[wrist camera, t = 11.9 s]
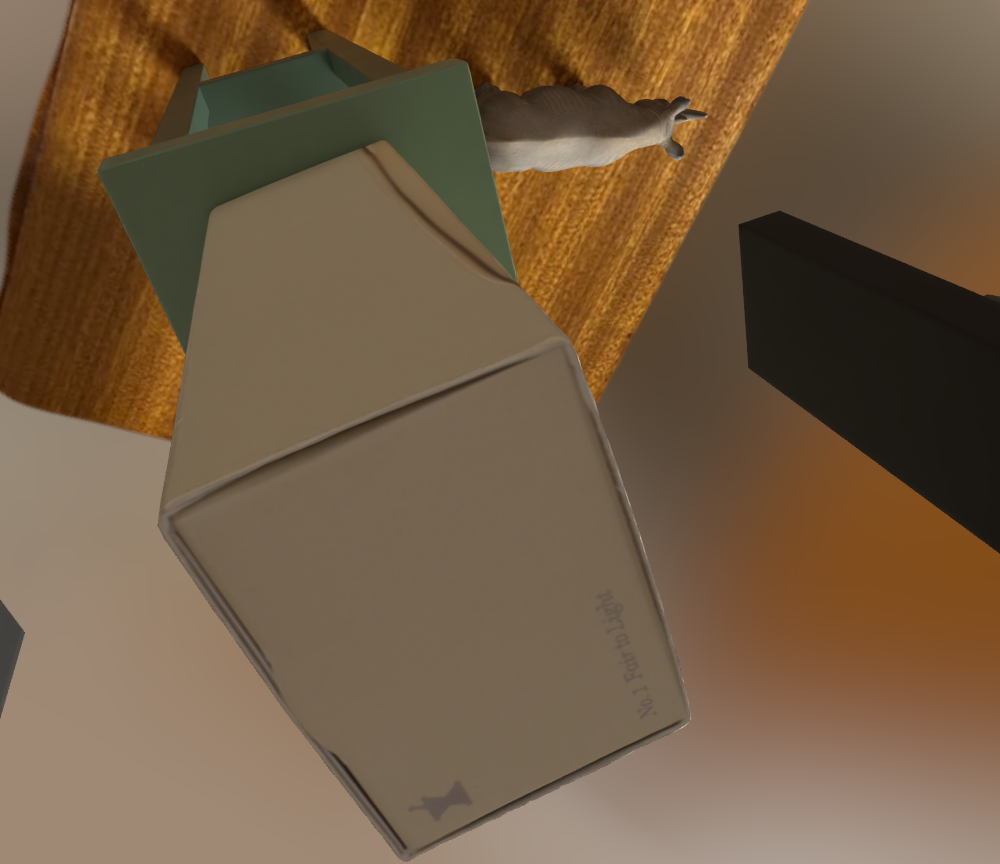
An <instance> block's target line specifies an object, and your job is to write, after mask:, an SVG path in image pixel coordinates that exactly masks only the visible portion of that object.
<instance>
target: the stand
mask: <svg viewBox="0 0 1000 864" xmlns="http://www.w3.org/2000/svg"><path fill="white" fill-rule="evenodd" d="M307 38H308V41H309V45H310V48H311V51H308V52H305V53H301V54H298V55H294V56H291V57H287V58H284V59H280V60H276V61H273V62H269V63H266V64H262V65H259V66H255V67H252V68H248V69H245V70H241V71H238V72H234V73H231V74H227V75H224V76H220V77H217V78H213V79H210V78H209V75H208V73H207V70H206V67H205V65H204V63H201V64H198V65H194V66H191V67H187V68H184V69H183V71H182V73H181V76H180V78H179V80H178V83H177V85H176V87H175V90H174V92H173V94H172V97H171V99H170V102H169V104H168V106H167V109H166V111H165V113H164V116H163V118H162V120H161V123H160V125H159V127H158V130H157V132H156V134H155V137H154V139H153V141H152V144H151V145H155V144H158V143H162V142H165V141H168V140H172V139H175V138H179V137H182V136H186V135H189V134H192V133H196V132H199V131H203V130H206V129H210V128H213V127H216V126H220V125H223V124H227V123H230V122H234V121H237V120H240V119H244V118H247V117H251V116H254V115H258V114H261V113H264V112H268V111H271V110H275V109H278V108H282V107H285V106H288V105H292V104H295V103H299V102H302V101H306V100H309V99H313V98H316V97H319V96H323V95H326V94H330V93H333V92H337V91H340V90H343V89H347V88H350V87H354V86H357V85H361V84H364V83H367V82H371V81H374V80H378V79H381V78H385V77H388V76H391V75H395V74H398V73H402V72H405V71H408V70H406V69H404V68H402V67H400V66H398V65H396V64H394V63H392V62H390V61H388V60H386V59H384V58H382V57H380V56H378V55H376V54H374V53H373V52H371V51H369V50H367V49H365V48H363V47H361V46H359V45H357V44H355V43H353V42H351V41H349V40H347V39H345V38H343V37H341V36H339V35H337V34H335V33H333V32H331V31H329V30H327V29H322V30H319V31H315V32H312V33H308V34H307Z"/></svg>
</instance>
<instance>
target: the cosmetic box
mask: <svg viewBox="0 0 1000 864" xmlns="http://www.w3.org/2000/svg"><path fill="white" fill-rule="evenodd" d="M158 527H159V529H160V531H161V533H162V535H163V537H164V539H165V541H166V542H167V543H168V545H169V546H170V547H171V549H172V550H173V552H174V553H175V555H176V556H177V558H178V559H179V561H180V562H181V564H182V565H183V566H184V568H185V569H186V571H187V572H188V574H189V575H190V576H191V578H192V579H193V581H194V582H195V584H196V585H197V586H198V588H199V590H200V591H201V593H202V594H203V595H204V597H205V598H206V600H207V601H208V603H209V604H210V606H211V607H212V609H213V610H214V612H215V613H216V614H217V616H218V617H219V618H220V619H221V621H222V622H223V623H224V625H225V626H226V627H227V629H228V630H229V632H230V633H231V635H232V636H233V638H234V639H235V641H236V642H237V644H238V645H239V647H240V648H241V649H242V651H243V652H244V654H245V655H246V656H247V658H248V659H249V660H250V662H251V664H252V665H253V666H254V668H255V669H256V671H257V672H258V673H259V675H260V676H261V678H262V679H263V680H264V682H265V683H266V684H267V686H268V687H269V689H270V690H271V692H272V693H273V695H274V696H275V698H276V699H277V701H278V702H279V703H280V705H281V706H282V708H283V709H284V710H285V712H286V713H287V714H288V716H289V717H290V718H291V719H292V721H293V722H294V724H295V725H296V726H297V727H298V729H299V730H300V731H301V732H302V734H303V735H304V736H305V737H306V739H307V740H308V741H309V742H310V744H311V745H312V746H313V748H314V749H315V750H316V752H317V753H318V754H319V755H320V757H321V758H322V760H323V761H324V762H325V764H326V765H327V767H328V768H329V769H330V771H331V772H332V773H333V774H334V775H335V776H336V778H337V779H338V780H339V781H340V783H341V784H342V785H343V787H344V788H345V789H346V790H347V792H348V793H349V794H350V796H351V797H352V798H353V800H354V801H355V802H356V804H357V805H358V806H359V808H360V809H361V810H362V812H363V813H364V814H365V815H366V816H367V817H368V818H369V820H370V821H371V823H372V824H373V825H374V827H375V828H376V829H377V830H378V832H379V833H380V834H381V835H382V836H383V838H384V839H385V840H386V842H387V843H388V845H389V846H390V847H391V849H392V850H393V851H394V853H395V854H396V855H397V857H398V858H399V859H401V860H402V861H410V860H411V859H414V858H415V857H417V856H419V855H421V854H423V853H425V852H427V851H429V850H431V849H433V848H435V847H436V846H438V845H439V844H442V843H444V842H447V841H449V840H451V839H454V838H456V837H457V836H460V835H462V834H464V833H466V832H468V831H470V830H473V829H475V828H477V827H479V826H481V825H483V824H484V823H486V822H488V821H491V820H494V819H496V818H499V817H500V816H502V815H504V814H505V813H507V812H509V811H512V810H514V809H516V808H519V807H521V806H523V805H525V804H527V803H528V802H530V801H533V800H535V799H537V798H539V797H541V796H543V795H545V794H547V793H550V792H552V791H554V790H556V789H558V788H560V787H561V786H563V785H566V784H569V783H571V782H572V781H574V780H576V779H579V778H581V777H583V776H586V775H588V774H590V773H592V772H594V771H596V770H598V769H600V768H602V767H604V766H606V765H608V764H610V763H611V762H613V761H615V760H617V759H619V758H621V757H623V756H625V755H627V754H629V753H631V752H634V751H636V750H638V749H640V748H642V747H644V746H646V745H648V744H650V743H652V742H654V741H656V740H658V739H660V738H662V737H664V736H667V735H669V734H671V733H673V732H675V731H677V730H679V729H680V728H682V727H684V726H685V725H687V724H688V722H689V721H690V719H691V711H690V706H689V701H688V697H687V693H686V688H685V684H684V681H683V678H682V674H681V669H680V664H679V659H678V657H677V654H676V650H675V647H674V644H673V640H672V636H671V632H670V629H669V625H668V622H667V619H666V616H665V613H664V609H663V605H662V602H661V599H660V596H659V592H658V589H657V586H656V582H655V579H654V576H653V573H652V569H651V566H650V564H649V561H648V558H647V555H646V552H645V549H644V546H643V542H642V539H641V536H640V534H639V530H638V526H637V524H636V521H635V518H634V515H633V512H632V509H631V506H630V503H629V500H628V497H627V494H626V492H625V488H624V486H623V483H622V480H621V476H620V472H619V469H618V467H617V464H616V461H615V458H614V455H613V453H612V450H611V447H610V445H609V442H608V439H607V436H606V433H605V431H604V428H603V425H602V422H601V419H600V416H599V413H598V410H597V407H596V403H595V400H594V397H593V395H592V392H591V390H590V388H589V385H588V383H587V380H586V377H585V374H584V372H583V370H582V367H581V364H580V361H579V357H578V355H577V352H576V350H575V348H574V346H573V344H572V342H571V340H570V338H569V337H568V336H567V335H566V334H565V333H563V332H562V331H561V330H560V329H559V328H558V327H557V325H556V324H555V323H554V322H553V321H552V320H551V319H550V317H549V316H548V315H547V314H546V313H545V312H544V311H543V310H542V308H541V307H540V306H539V305H538V304H537V303H536V302H535V301H534V299H533V298H532V297H531V296H529V295H528V294H527V293H526V292H525V291H524V290H523V289H522V287H521V286H520V285H519V284H518V283H517V282H516V281H515V280H514V279H513V277H512V276H511V275H510V274H509V273H508V272H507V271H506V270H505V269H504V267H503V266H502V265H501V264H500V263H499V262H498V261H497V260H496V258H495V257H494V256H493V255H492V254H491V253H490V252H489V251H488V250H487V248H486V247H485V246H484V245H483V244H482V243H481V242H480V241H479V240H478V239H477V238H476V237H475V236H474V235H473V234H472V233H471V232H470V231H469V229H468V228H467V227H466V226H465V225H464V224H463V223H462V222H461V221H460V219H459V218H458V217H457V216H456V215H455V214H454V213H453V212H452V210H451V209H450V208H449V207H448V206H447V205H446V204H445V203H444V202H443V200H442V199H441V198H440V197H439V196H438V195H437V194H436V193H435V192H434V191H433V190H432V189H431V188H430V187H429V186H428V184H427V183H426V182H425V181H424V180H423V179H422V178H421V177H420V176H419V174H418V173H417V172H416V171H415V170H414V169H413V168H412V167H411V166H410V165H409V164H408V163H407V162H406V161H405V160H404V159H403V157H402V156H401V155H400V154H399V153H398V152H397V151H396V150H395V149H394V148H393V147H392V146H391V145H390V144H389V143H388V142H387V141H384V140H381V141H378V142H375V143H373V144H370V145H368V146H366V147H363V148H360V149H357V150H355V151H352V152H350V153H347V154H344V155H342V156H339V157H336V158H334V159H331V160H328V161H326V162H323V163H321V164H318V165H316V166H313V167H311V168H308V169H306V170H303V171H301V172H299V173H296V174H294V175H291V176H289V177H286V178H284V179H281V180H279V181H276V182H274V183H271V184H269V185H267V186H264V187H262V188H259V189H257V190H254V191H252V192H250V193H247V194H245V195H243V196H240V197H238V198H236V199H233V200H231V201H229V202H226V203H224V204H222V205H219V206H217V207H215V208H214V209H213V210H212V211H211V212H210V216H209V221H208V227H207V233H206V238H205V244H204V250H203V256H202V262H201V269H200V275H199V282H198V287H197V293H196V298H195V304H194V309H193V316H192V322H191V328H190V334H189V340H188V346H187V352H186V358H185V364H184V370H183V376H182V383H181V389H180V395H179V401H178V407H177V413H176V419H175V425H174V431H173V437H172V442H171V447H170V453H169V459H168V465H167V470H166V475H165V481H164V487H163V492H162V498H161V504H160V511H159V520H158Z"/></svg>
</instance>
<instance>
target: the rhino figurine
mask: <svg viewBox="0 0 1000 864" xmlns="http://www.w3.org/2000/svg"><path fill="white" fill-rule="evenodd" d="M474 92H475V96H476V100H477V105H478V109H479V113H480V118H481V122H482V127H483V131H484V135H485V140H486V144H487V149H488V153H489V157H490V162H491V166H492V171H497V172H516V171H524V170H527V169H530V168H532V169H535V170H538V171H543V172H553V171H559V170H563V169H567V168H572V167H579V166H588V167H598V166H604V165H608V164H610V163H612V162H614V161H616V160H618V159H619V158H621V157H622V156H624V155H625V154H626V153H628V152H630V151H631V150H634V149H637V148H641V147H646V146H650V145H654V144H658V145H660V146H662V147H663V148H664V149H665V150H666V152H667V153H668V154H669V156H670V157H671V158H673V159H682V158H683V157H684V149H683V147H682V146H681V145H680V144H679V143H677V142H675V141H673V140H672V134H673V130H674V125H676V124H679V123H682V122H685V121H689V120H694V119H700V118H706V117H707V116H708V115H707V113H704V112H701V111H696V110H690V109H686V108H687V107H688V106H689V104H690V102H691V101H690V99H686V98H685V97H681V96H679V97H678V98H676V99H675V100H673V101H672V103H671V104H670V103H669V102H668V101H667V100H665V99H654V100H650V99H643V100H639V101H637V102H636V103H634V104H631V103H628V102H626V101H625V100H624V99H623V98H622V97H621V96H620V95H618V94H617V93H616V92H615V91H614V90H613V89H611V88H610V87H607V86H605V85H594V86H591V87H589V88H587V87H585V86H583V85H581V84H579V83H575V84H574V85H573V86H571V87H570V88H566V87H562V86H541V87H537V88H534V89H532V90H530V91H527V92H525V93H523V94H522V96H521V97H519V96H518V95H517V94H515V93H513V92H508V91H501V90H500V89H499V88H498V87H496V86H492V85H491V84H490V83H487V82H485V83H483V84H482V85H480V86H479V87H478V88H477V89H476V90H475V91H474Z"/></svg>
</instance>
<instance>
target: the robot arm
mask: <svg viewBox="0 0 1000 864" xmlns="http://www.w3.org/2000/svg"><path fill="white" fill-rule="evenodd" d="M739 237H740V253H741V267H742V281H743V295H744V310H745V325H746V339H747V352H748V367H749V369H751V370H752V371H753V372H755V373H756V374H757V375H759V376H760V377H761V378H763V379H764V380H766V381H767V382H768V383H770V384H771V385H772V386H774V387H775V388H777V389H778V390H779V391H780V392H782V393H783V394H784V395H786V396H787V397H789V398H790V399H791V400H793V401H794V402H795V403H797V404H798V405H799V406H801V407H802V408H803V409H805V410H806V411H808V412H809V413H810V414H812V415H813V416H814V417H816V418H817V419H818V420H820V421H821V422H822V423H824V424H825V425H826V426H828V427H829V428H831V429H832V430H833V431H835V432H836V433H837V434H839V435H840V436H841V437H843V438H844V439H845V440H847V441H848V442H850V443H851V444H852V445H854V446H855V447H856V448H858V449H859V450H860V451H862V452H863V453H864V454H866V455H867V456H869V457H870V458H871V459H872V460H874V461H876V462H877V463H878V464H879V465H881V466H882V467H883V468H885V469H887V471H889V472H890V473H891V474H893V475H894V476H896V477H897V478H898V479H900V480H901V481H902V482H904V483H905V484H906V485H908V486H909V487H910V488H912V489H913V490H915V491H916V492H917V493H919V494H920V495H921V496H923V497H924V498H925V499H927V500H928V501H929V502H931V503H932V504H934V505H935V506H936V507H937V508H939V509H940V510H942V511H943V512H944V513H946V514H947V515H948V516H950V517H951V518H952V519H954V520H955V521H957V522H958V523H959V524H961V525H962V526H963V527H965V528H966V529H967V530H969V531H970V532H972V533H973V534H974V535H975V536H977V537H978V538H979V539H981V540H982V541H984V542H985V543H986V544H988V545H989V546H990V547H992V548H993V549H994V550H996V551H997V552H998V553H1000V297H999V296H994V295H985V296H981V295H979V294H977V293H975V292H972V291H970V290H967V289H965V288H963V287H960V286H958V285H956V284H953V283H951V282H948V281H946V280H944V279H941V278H939V277H936V276H934V275H932V274H929V273H927V272H924V271H922V270H919V269H917V268H915V267H913V266H910V265H908V264H905V263H903V262H901V261H898V260H896V259H894V258H891V257H889V256H886V255H884V254H882V253H879V252H877V251H874V250H872V249H870V248H867V247H865V246H862V245H860V244H858V243H855V242H853V241H851V240H848V239H846V238H844V237H841V236H838V235H836V234H834V233H832V232H829V231H827V230H824V229H822V228H819V227H817V226H815V225H812V224H810V223H808V222H805V221H803V220H801V219H798V218H796V217H793V216H791V215H789V214H786V213H784V212H781V211H777V212H775V213H771V214H769V215H765V216H762V217H760V218H756V219H754V220H751V221H748V222H745V223H742V224H739ZM24 634H25V632H24V631H23V629H22V628H21V627H20V625H19V624H18V623H17V621H16V620H15V619H14V617H13V616H12V615H11V613H10V612H9V611H8V610H7V608H6V607H5V605H4V604H3V603H2V601H1V600H0V717H1V714H2V710H3V707H4V703H5V700H6V696H7V693H8V689H9V686H10V683H11V679H12V675H13V672H14V669H15V665H16V661H17V658H18V654H19V651H20V648H21V644H22V641H23V637H24Z"/></svg>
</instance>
